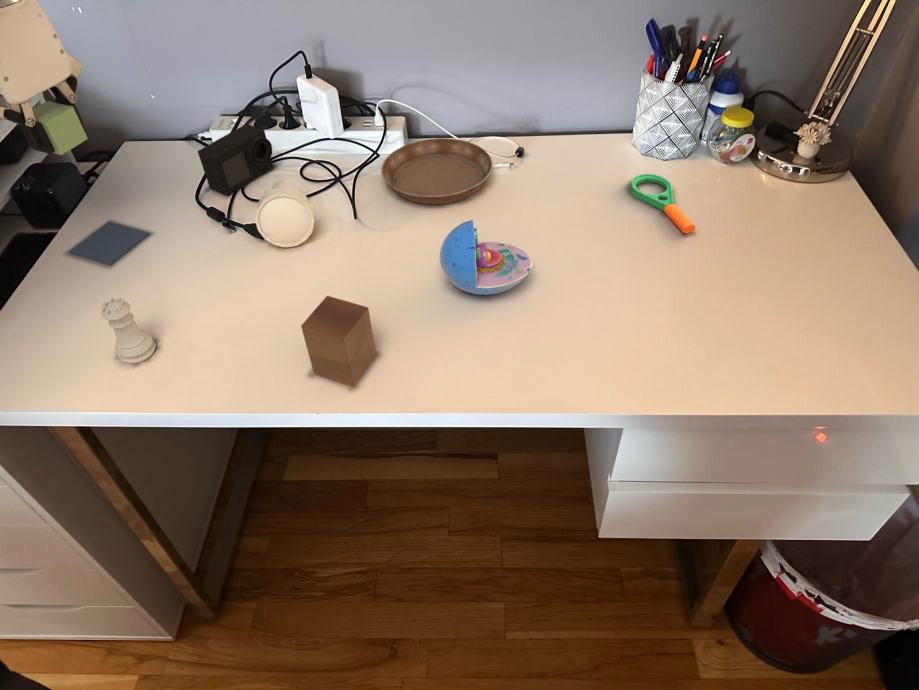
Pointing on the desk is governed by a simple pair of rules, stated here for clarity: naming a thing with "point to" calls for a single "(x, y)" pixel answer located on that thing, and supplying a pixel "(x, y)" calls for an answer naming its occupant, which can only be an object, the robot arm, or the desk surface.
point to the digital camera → (236, 159)
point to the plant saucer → (437, 170)
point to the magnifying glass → (658, 202)
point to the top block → (60, 125)
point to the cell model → (481, 262)
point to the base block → (339, 340)
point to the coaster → (109, 243)
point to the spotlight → (285, 215)
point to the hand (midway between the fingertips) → (60, 140)
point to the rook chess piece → (127, 332)
